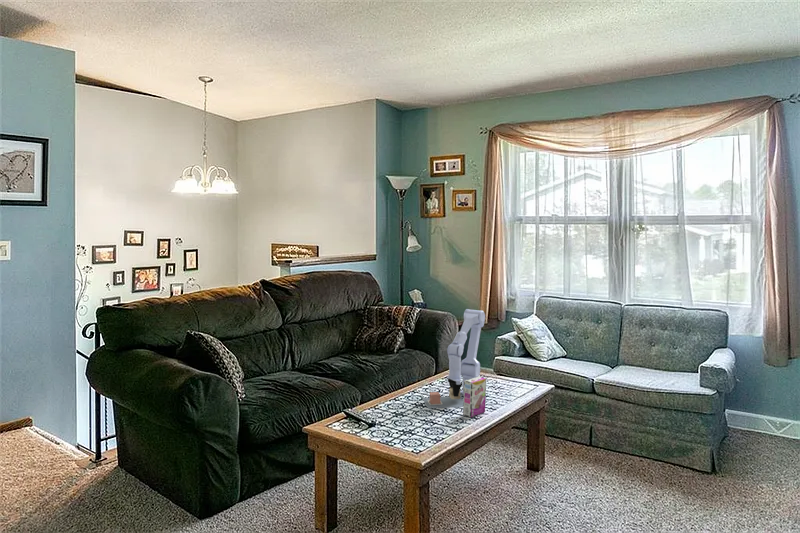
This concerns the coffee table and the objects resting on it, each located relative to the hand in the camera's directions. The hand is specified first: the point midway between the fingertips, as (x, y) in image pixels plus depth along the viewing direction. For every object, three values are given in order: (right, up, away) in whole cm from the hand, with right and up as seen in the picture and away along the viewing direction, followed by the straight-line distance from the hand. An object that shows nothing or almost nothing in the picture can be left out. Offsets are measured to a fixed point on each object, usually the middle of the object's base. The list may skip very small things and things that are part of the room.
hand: (454, 394), depth 274 cm
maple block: (0, -1, 0) cm, 1 cm away
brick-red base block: (-10, -4, -1) cm, 11 cm away
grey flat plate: (-5, -4, -1) cm, 6 cm away
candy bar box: (+8, -5, -17) cm, 19 cm away
